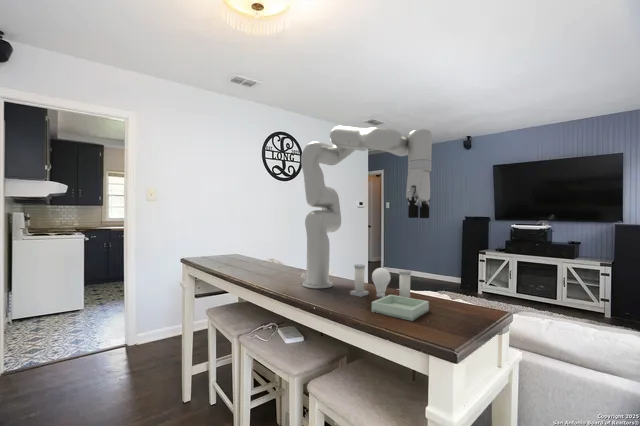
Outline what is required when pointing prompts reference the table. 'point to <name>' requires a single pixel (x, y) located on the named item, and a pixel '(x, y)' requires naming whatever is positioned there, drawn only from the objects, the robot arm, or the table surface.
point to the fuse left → (359, 281)
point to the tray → (400, 307)
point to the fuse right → (404, 283)
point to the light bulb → (381, 281)
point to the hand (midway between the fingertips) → (419, 217)
